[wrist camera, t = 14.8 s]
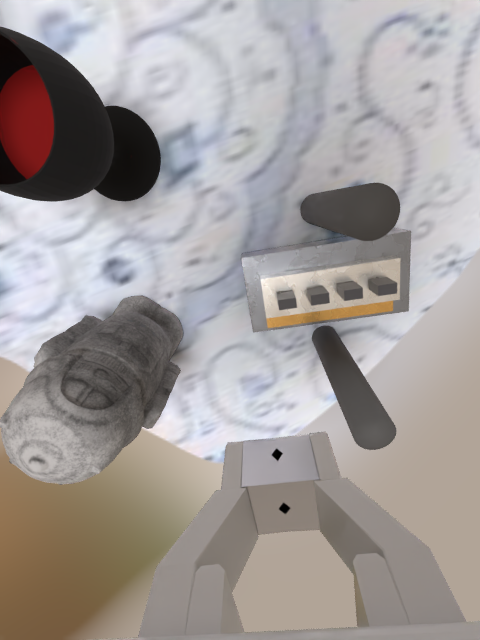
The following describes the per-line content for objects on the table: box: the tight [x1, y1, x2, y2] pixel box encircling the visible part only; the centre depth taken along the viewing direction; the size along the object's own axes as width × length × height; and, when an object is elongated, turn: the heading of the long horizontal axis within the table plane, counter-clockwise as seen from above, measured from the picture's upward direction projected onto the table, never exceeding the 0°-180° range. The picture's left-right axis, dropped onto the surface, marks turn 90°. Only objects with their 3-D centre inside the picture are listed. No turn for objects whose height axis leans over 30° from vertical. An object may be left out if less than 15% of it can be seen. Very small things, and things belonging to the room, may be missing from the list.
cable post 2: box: [312, 326, 396, 450], centre depth 36 cm, size 4×4×20 cm
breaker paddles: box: [276, 277, 397, 310], centre depth 35 cm, size 1×13×3 cm, turn 100°
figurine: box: [0, 296, 183, 485], centre depth 34 cm, size 10×14×25 cm
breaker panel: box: [241, 228, 411, 332], centre depth 39 cm, size 10×20×6 cm, turn 100°
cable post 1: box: [300, 183, 400, 241], centre depth 29 cm, size 4×4×20 cm
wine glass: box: [0, 27, 160, 201], centre depth 28 cm, size 10×10×20 cm
